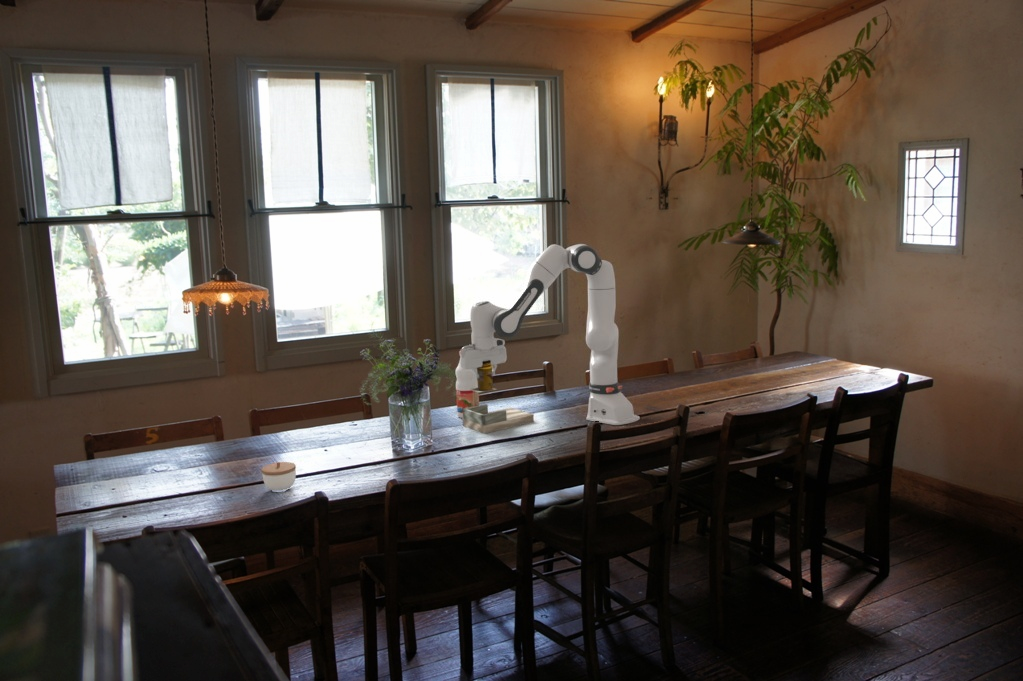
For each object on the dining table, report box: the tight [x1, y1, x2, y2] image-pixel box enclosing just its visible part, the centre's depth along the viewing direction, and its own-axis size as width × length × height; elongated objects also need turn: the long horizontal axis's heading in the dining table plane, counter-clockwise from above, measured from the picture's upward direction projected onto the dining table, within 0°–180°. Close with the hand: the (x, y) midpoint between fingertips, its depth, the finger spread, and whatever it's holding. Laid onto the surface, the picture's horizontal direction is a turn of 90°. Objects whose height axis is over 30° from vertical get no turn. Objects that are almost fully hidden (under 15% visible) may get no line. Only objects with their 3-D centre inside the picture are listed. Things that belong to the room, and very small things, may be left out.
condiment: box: [471, 360, 497, 393], centre depth 339 cm, size 7×8×12 cm
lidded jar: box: [261, 461, 297, 491], centre depth 278 cm, size 11×11×9 cm
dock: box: [461, 403, 535, 434], centre depth 345 cm, size 16×24×7 cm, turn 126°
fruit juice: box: [454, 350, 480, 419], centre depth 358 cm, size 9×9×28 cm
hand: (484, 376), depth 339 cm, fingers closed on condiment, 6 cm apart
